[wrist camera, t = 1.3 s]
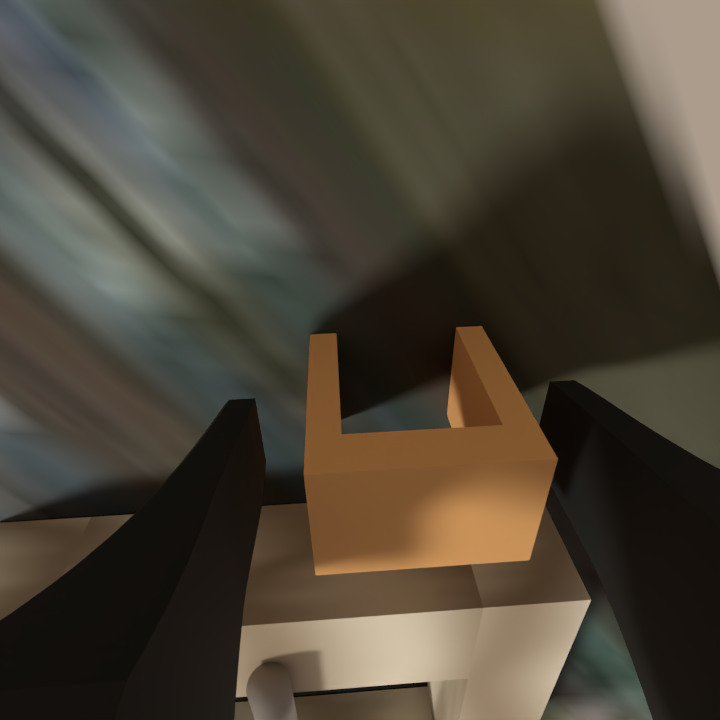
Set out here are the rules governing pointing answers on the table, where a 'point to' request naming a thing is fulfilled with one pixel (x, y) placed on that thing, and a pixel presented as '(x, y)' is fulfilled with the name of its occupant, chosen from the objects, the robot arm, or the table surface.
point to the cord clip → (426, 472)
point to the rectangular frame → (362, 623)
